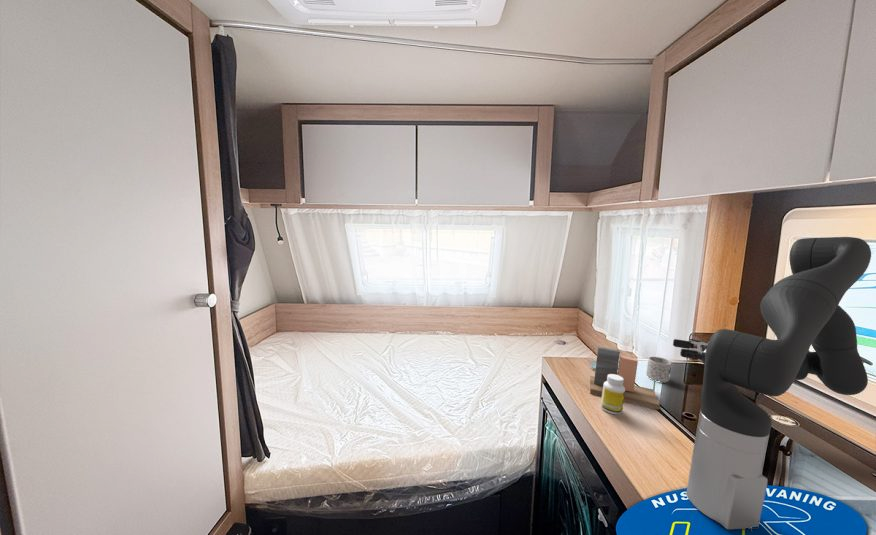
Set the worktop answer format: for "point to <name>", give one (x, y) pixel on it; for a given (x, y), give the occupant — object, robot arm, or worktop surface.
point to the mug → (658, 369)
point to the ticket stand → (609, 365)
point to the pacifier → (593, 364)
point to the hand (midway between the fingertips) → (677, 347)
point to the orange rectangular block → (628, 372)
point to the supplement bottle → (613, 394)
